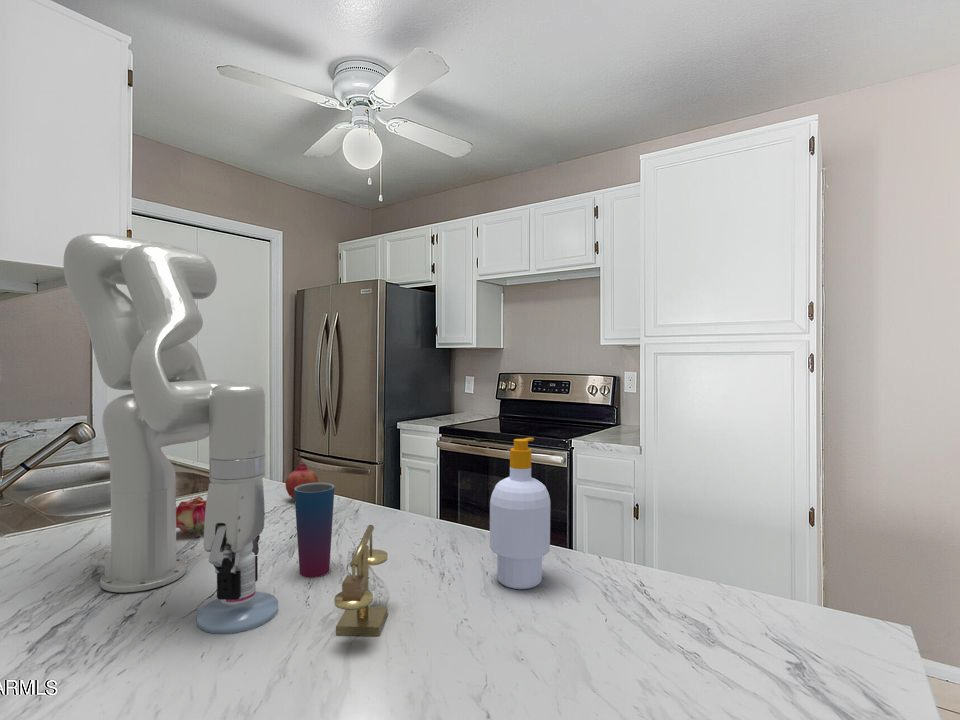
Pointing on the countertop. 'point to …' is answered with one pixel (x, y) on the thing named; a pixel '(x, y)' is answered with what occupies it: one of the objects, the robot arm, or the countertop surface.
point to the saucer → (237, 614)
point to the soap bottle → (520, 522)
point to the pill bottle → (244, 574)
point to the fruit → (300, 478)
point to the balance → (361, 593)
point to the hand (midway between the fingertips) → (238, 588)
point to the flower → (191, 516)
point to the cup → (314, 527)
